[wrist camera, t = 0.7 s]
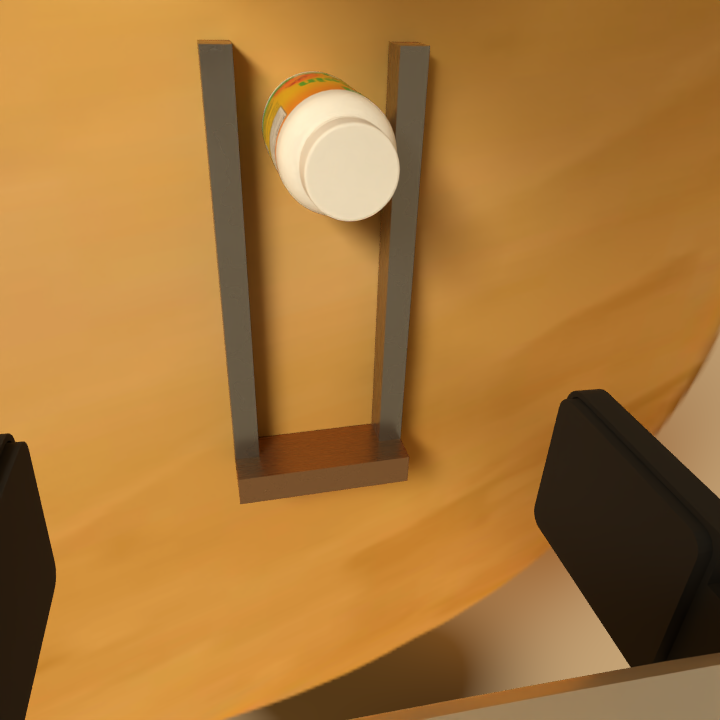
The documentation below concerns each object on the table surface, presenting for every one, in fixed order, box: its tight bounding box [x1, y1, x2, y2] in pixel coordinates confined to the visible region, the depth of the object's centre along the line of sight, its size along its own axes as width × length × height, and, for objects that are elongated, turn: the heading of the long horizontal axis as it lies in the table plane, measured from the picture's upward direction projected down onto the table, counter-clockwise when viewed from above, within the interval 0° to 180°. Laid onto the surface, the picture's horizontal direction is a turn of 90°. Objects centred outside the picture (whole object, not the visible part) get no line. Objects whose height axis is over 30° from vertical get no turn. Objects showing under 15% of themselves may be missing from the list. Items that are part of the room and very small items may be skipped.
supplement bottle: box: [262, 71, 400, 221], centre depth 30 cm, size 5×5×10 cm
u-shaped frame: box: [197, 40, 430, 504], centre depth 37 cm, size 26×11×4 cm, turn 178°
